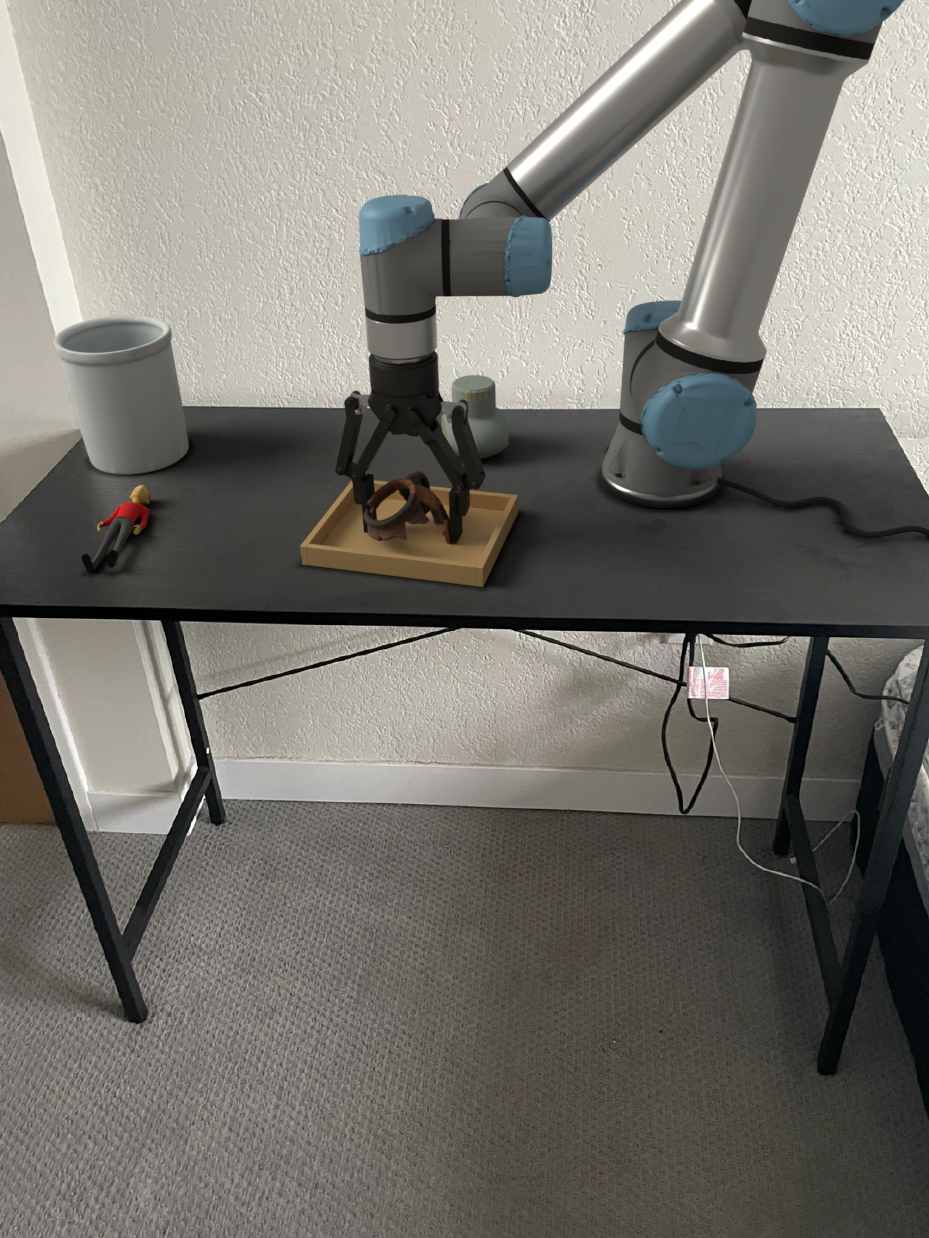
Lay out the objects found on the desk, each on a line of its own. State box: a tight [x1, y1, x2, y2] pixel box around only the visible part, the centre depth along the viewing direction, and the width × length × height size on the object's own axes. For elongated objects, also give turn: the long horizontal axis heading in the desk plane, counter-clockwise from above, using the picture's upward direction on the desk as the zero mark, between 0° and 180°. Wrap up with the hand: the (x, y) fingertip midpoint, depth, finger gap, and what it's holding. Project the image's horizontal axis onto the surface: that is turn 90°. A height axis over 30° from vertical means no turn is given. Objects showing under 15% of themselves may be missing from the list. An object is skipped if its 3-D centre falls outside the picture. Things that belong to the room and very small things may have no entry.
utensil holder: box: [53, 314, 190, 476], centre depth 139 cm, size 15×15×18 cm
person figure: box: [81, 484, 152, 574], centre depth 124 cm, size 5×4×18 cm
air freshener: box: [441, 374, 510, 460], centre depth 139 cm, size 11×8×10 cm
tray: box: [299, 479, 519, 588], centre depth 122 cm, size 22×18×2 cm
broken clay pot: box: [363, 470, 450, 544], centre depth 121 cm, size 12×10×8 cm
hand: (413, 532), depth 122 cm, fingers closed on broken clay pot, 10 cm apart
